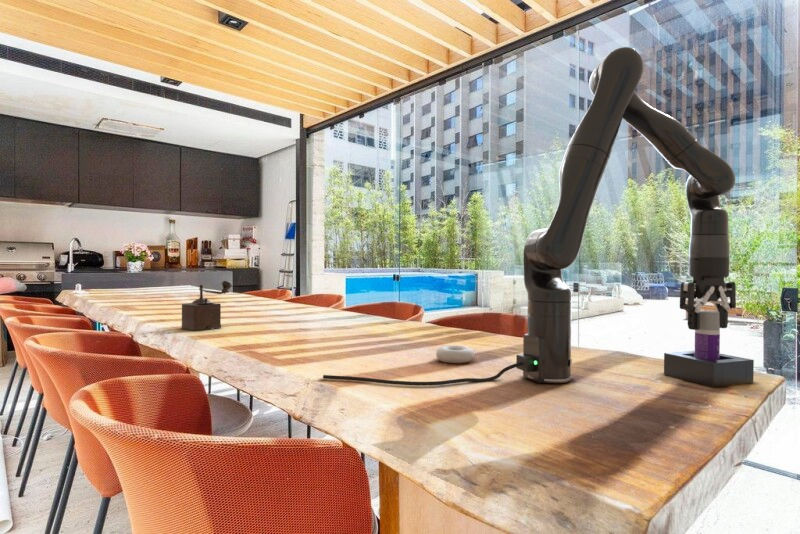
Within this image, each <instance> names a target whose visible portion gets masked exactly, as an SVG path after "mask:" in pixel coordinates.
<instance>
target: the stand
mask: <svg viewBox="0 0 800 534" xmlns="http://www.w3.org/2000/svg"><path fill="white" fill-rule="evenodd" d="M754 362H755V360H754V359H752V358H746V357H741V356H735V355H732V354H731V355H730V354H725V353H720V354H719V360H712V361H711V360H706V359H701V358H696V357H695V350H685V351H684V350H683V351H674V352H664V353H663V375H665V376H668V377H672V378H674V379H675V378H676V379H679V380H684V381H687V382H691V383H695V384H698V385H703V386H706V387H710V388H720V387H729V386H738V385H745V384H746V385H748V384H753V383H754V368H755V365H754V364H755V363H754Z"/></svg>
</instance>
